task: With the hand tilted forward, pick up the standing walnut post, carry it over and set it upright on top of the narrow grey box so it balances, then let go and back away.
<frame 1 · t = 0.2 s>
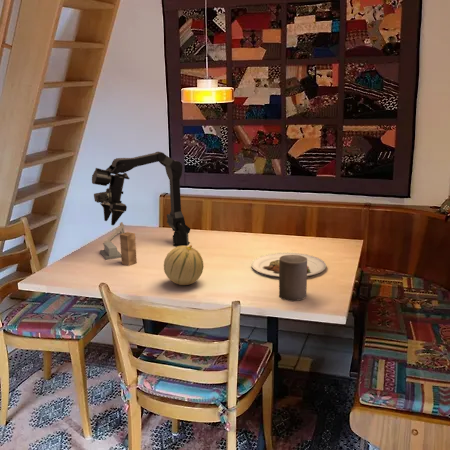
hand: (109, 223, 234), 15 cm above the table, fingers open, 9 cm apart
caliper: (114, 239, 267), on the table
walnut post: (129, 263, 228), on the table
pillar candle: (292, 296, 190), on the table
grey box: (111, 254, 240), on the table
cantaloupe: (184, 284, 204), on the table
plated food: (288, 268, 220), on the table
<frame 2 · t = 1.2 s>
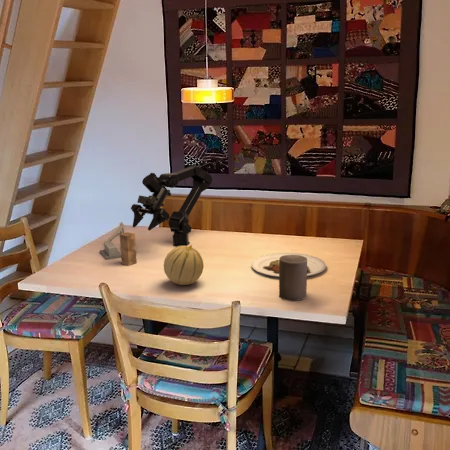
hand: (140, 228, 231), 13 cm above the table, fingers open, 9 cm apart
nothing on the table moved.
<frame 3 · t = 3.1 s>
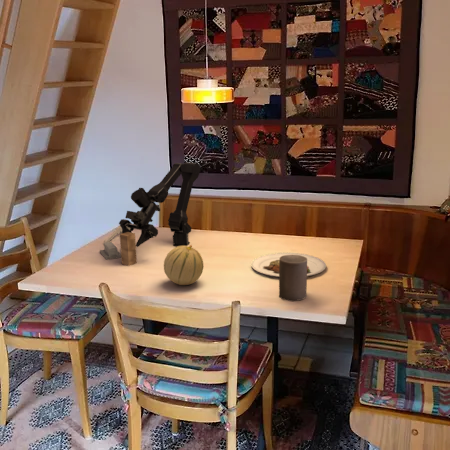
hand: (128, 244, 226), 8 cm above the table, fingers open, 9 cm apart
nothing on the table moved.
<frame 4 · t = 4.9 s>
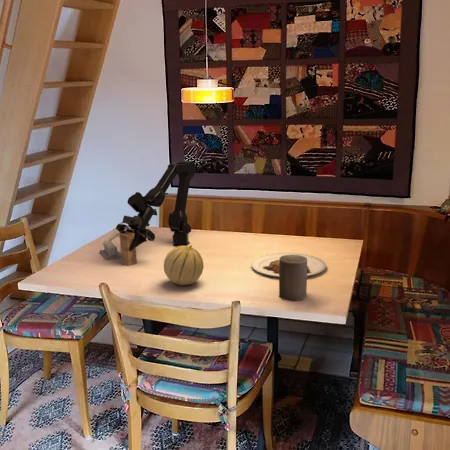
hand: (125, 249, 225), 7 cm above the table, fingers closed on walnut post, 4 cm apart
walnut post: (129, 263, 228), on the table, touching gripper
everything else where it was.
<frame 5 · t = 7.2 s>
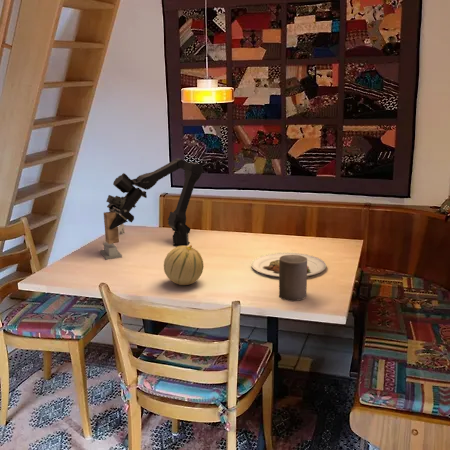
hand: (108, 227, 233), 13 cm above the table, fingers closed on walnut post, 4 cm apart
walnut post: (112, 241, 236), point 7 cm above the table, touching gripper
everything else where it was.
when the fingers open (12 cm above the table, at t = 9.6 s): walnut post stays where it is, resting on grey box.
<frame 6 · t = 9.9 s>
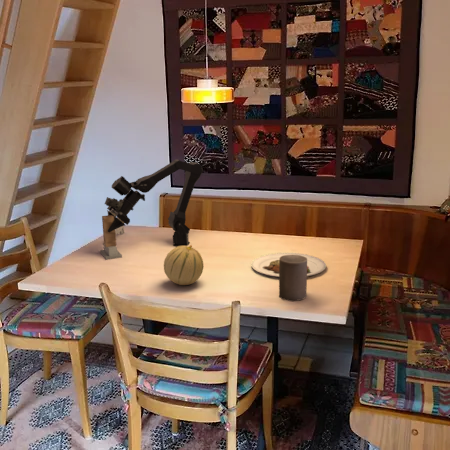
hand: (105, 229, 237), 12 cm above the table, fingers open, 8 cm apart
walnut post: (110, 245, 239), point 5 cm above the table, touching grey box
everything else where it was.
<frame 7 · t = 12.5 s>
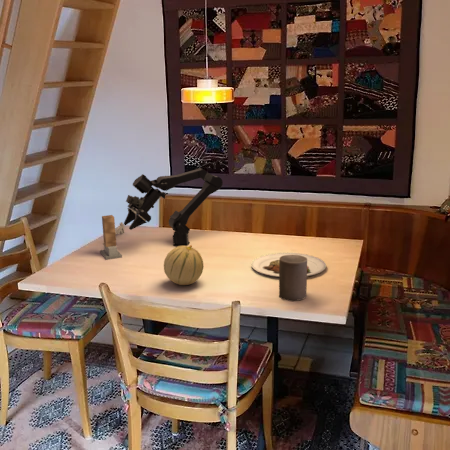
hand: (127, 226, 241), 12 cm above the table, fingers open, 9 cm apart
nothing on the table moved.
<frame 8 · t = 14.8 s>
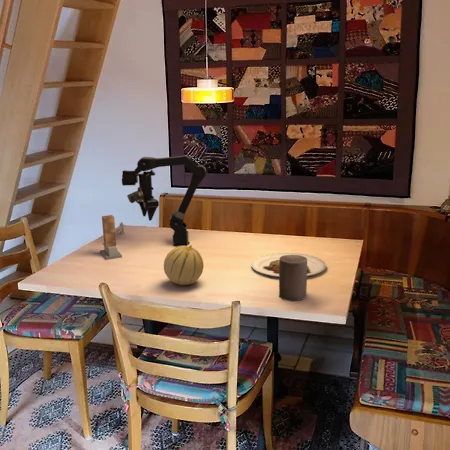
hand: (147, 218, 251), 13 cm above the table, fingers open, 9 cm apart
nothing on the table moved.
at the end: walnut post inside the target area on the grey box (0.1 cm from its centre), point 4.5 cm above the grey box's base; walnut post tilted 0°; the gripper is holding nothing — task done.
